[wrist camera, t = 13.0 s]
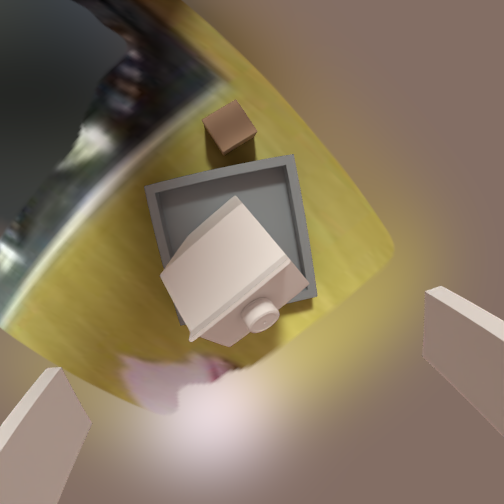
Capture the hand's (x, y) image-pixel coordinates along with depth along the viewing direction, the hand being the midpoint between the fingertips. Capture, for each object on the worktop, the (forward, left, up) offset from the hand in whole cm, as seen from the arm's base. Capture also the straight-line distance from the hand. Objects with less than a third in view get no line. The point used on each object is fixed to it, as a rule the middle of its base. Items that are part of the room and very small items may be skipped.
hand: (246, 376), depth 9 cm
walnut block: (-12, +2, -27) cm, 29 cm away
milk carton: (0, 0, -26) cm, 26 cm away
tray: (0, 0, -27) cm, 27 cm away
